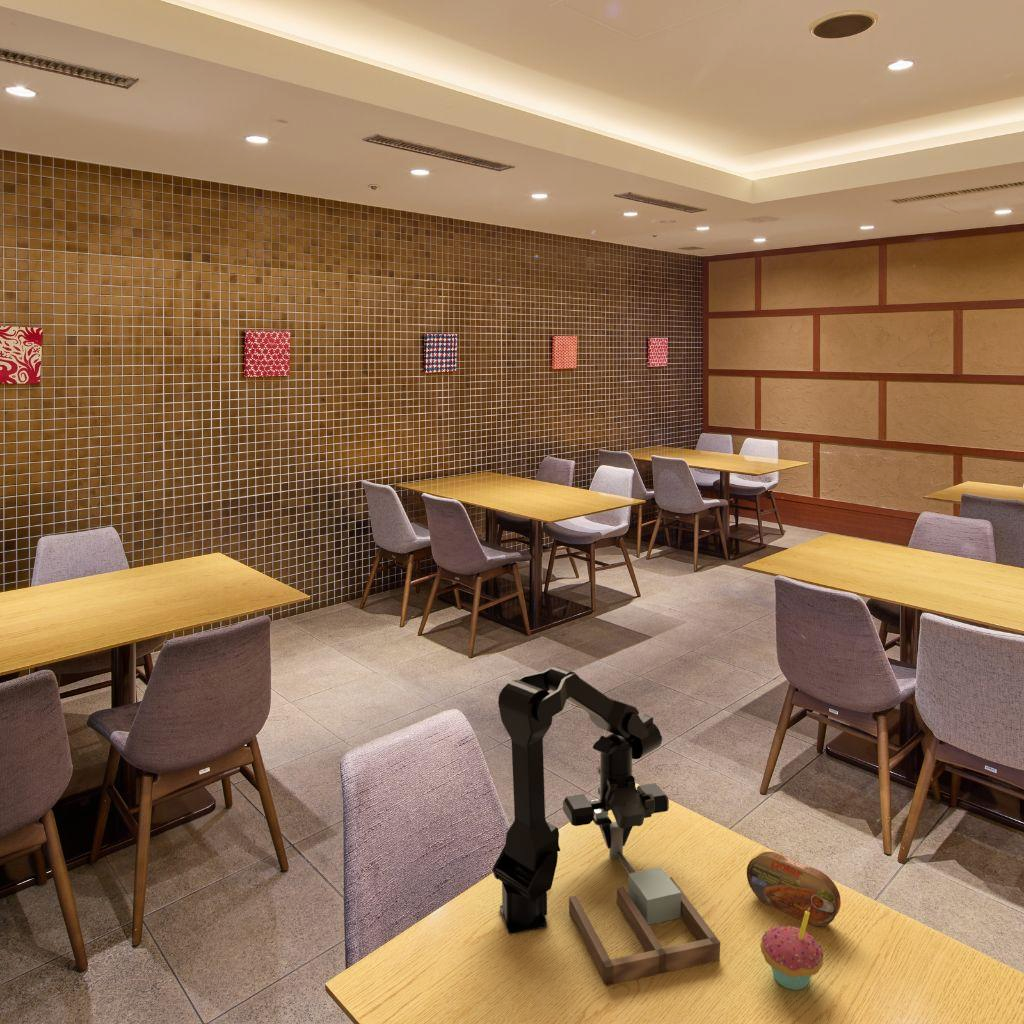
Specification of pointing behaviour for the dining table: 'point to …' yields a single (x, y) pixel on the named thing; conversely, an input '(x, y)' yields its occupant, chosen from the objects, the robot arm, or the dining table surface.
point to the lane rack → (646, 942)
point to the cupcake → (792, 954)
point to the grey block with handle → (648, 886)
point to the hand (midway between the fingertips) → (615, 846)
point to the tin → (794, 888)
